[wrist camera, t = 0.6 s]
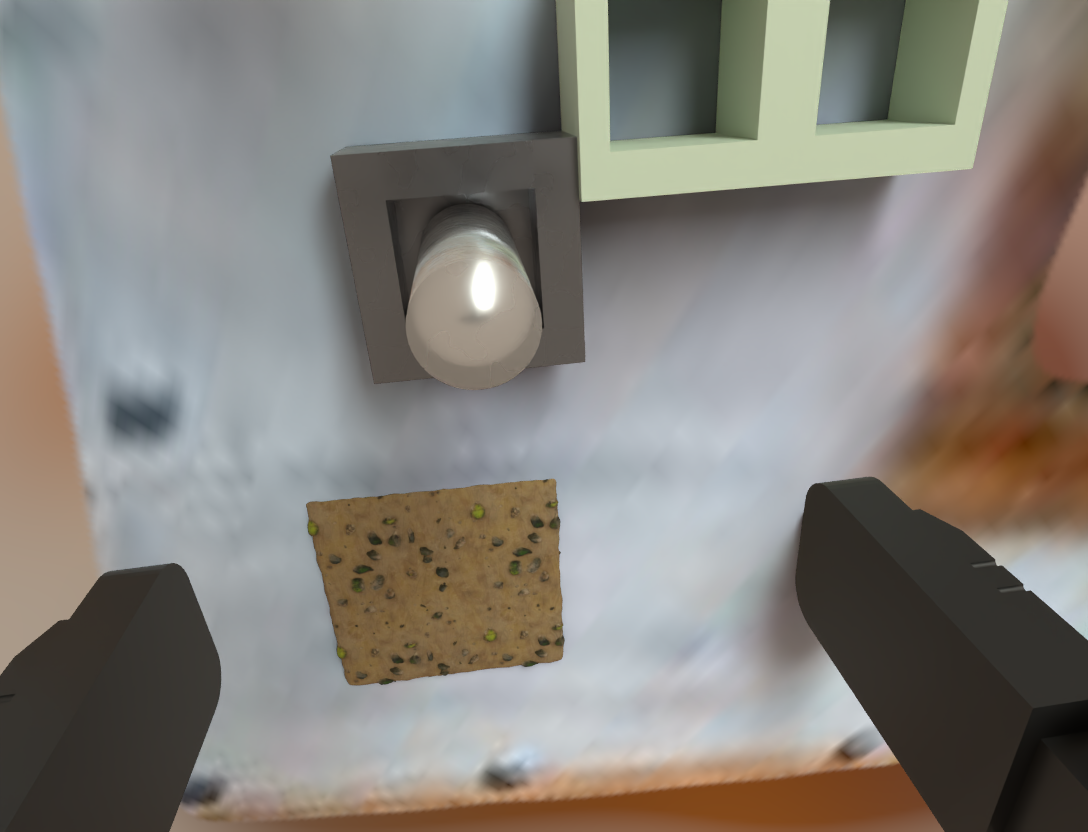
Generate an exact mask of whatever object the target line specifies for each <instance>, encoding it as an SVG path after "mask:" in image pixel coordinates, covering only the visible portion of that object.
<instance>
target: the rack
mask: <svg viewBox="0 0 1088 832" xmlns="http://www.w3.org/2000/svg"><path fill="white" fill-rule="evenodd" d="M829 5H830V0H722V13H721V33H720V53H719V73H718V94H717V114H716V133H706V134H693V135H680V136H667V137H655V138H642V139H629V140H616V141H610V107H609V45H608V0H556V20H557V42H558V63H559V85H560V107H561V128H562V131H564V132H567V133H569V134H571V135H574V136H576V137H577V151H578V178H579V200H580V201H581V202H587V201H599V200H611V199H623V198H634V197H646V196H658V195H670V194H681V193H693V192H705V191H717V190H729V189H740V188H752V187H764V186H776V185H787V184H799V183H811V182H823V181H834V180H846V179H858V178H870V177H882V176H893V175H905V174H917V173H929V172H940V171H952V170H964V169H972V168H973V164H974V159H975V154H976V150H977V145H978V140H979V136H980V131H981V126H982V122H983V117H984V112H985V108H986V103H987V98H988V94H989V89H990V84H991V80H992V75H993V70H994V66H995V61H996V56H997V51H998V47H999V42H1000V37H1001V33H1002V28H1003V23H1004V19H1005V14H1006V9H1007V5H1008V0H906V2H905V8H904V15H903V21H902V28H901V34H900V41H899V47H898V54H897V60H896V66H895V73H894V79H893V86H892V92H891V99H890V105H889V112H888V118H887V119H886V120H873V121H860V122H847V123H835V124H822V125H816V122H817V113H818V104H819V95H820V86H821V77H822V68H823V59H824V50H825V41H826V32H827V23H828V14H829Z"/></svg>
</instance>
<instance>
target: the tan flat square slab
mask: <svg viewBox="0 0 1088 832" xmlns="http://www.w3.org/2000/svg"><path fill="white" fill-rule="evenodd" d="M556 497H557V494H556V480H555V479H549V480H548V479H546V480H533V481H520V482H511V483H503V484H494V485H476V486H471V487H466V488H456V489H442V490H437V491H425V492H412V493H406V494H390V495H386V496H379V497H365V498H352V499H341V500H333V501H326V502H317V501H316V502H309V503H307V504H306V507H307V511H308V516H309V522H308V532H309V534H310V535H311V536H313V543H314V548H315V550H316V557H317V563H318V565H319V568H320V570H321V572H322V577H323V582H324V588H325V594H326V596H327V599H328V602H329V606H330V615H331V618H332V624H333V626H334V632H335V635H336V638H337V643H338V646H337V655H338V657H339V658H341V659H342V665H343V667H344V674H345V678H346V679H347V681H348V683H349V684H350V685H366V684H372V683H379V684H381V685H383V684H389V683H391V682H393V681H395V682H396V681H398V680H410V679H414V678H420V677H426V676H428V677H431V676H436V675H438V676H441V675H445V676H446V675H447V674H454V673H460V672H470V671H476V670H482V669H489V668H501V667H511V666H516V665H522V666H524V667H529V666H533V665H535V664H538V663H550V662H554V661H558V660H561V659H562V657H563V645H564V637H563V630H562V626H563V623H562V616H561V613H562V595H561V587H560V570H559V554H560V551H559V549H558V545H559V529H560V519H559V517H558V510H557V506H558V501H557V498H556Z"/></svg>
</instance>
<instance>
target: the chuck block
mask: <svg viewBox="0 0 1088 832" xmlns="http://www.w3.org/2000/svg"><path fill="white" fill-rule="evenodd" d="M330 157H331V162H332V167H333V172H334V178H335V183H336V188H337V193H338V198H339V203H340V209H341V214H342V219H343V224H344V229H345V235H346V240H347V245H348V250H349V255H350V261H351V266H352V271H353V276H354V281H355V286H356V292H357V297H358V302H359V307H360V312H361V318H362V323H363V328H364V333H365V338H366V344H367V349H368V354H369V359H370V364H371V369H372V375H373V380H374V384H379V383H388V382H398V381H408V380H417V379H427V378H434V377H433V376H431V375H430V374H429V373H428V372H426V370H425V369H424V368H423V367H422V366H421V365H420V364H419V362H418V361H417V360H416V358H415V357H414V355H413V353H412V351H411V349H410V346H409V343H408V339H407V335H406V315H407V310H408V305H409V300H410V295H411V290H412V285H413V280H414V275H415V270H416V265H417V260H418V255H419V250H420V245H421V240H422V236H423V233H424V231H425V229H426V227H427V225H428V224H429V222H430V221H431V220H432V219H433V218H434V217H435V216H436V215H437V214H438V213H439V212H441V211H443V210H444V209H446V208H448V207H451V206H454V205H459V204H474V205H478V206H482V207H484V208H487V209H489V210H490V211H492V212H494V213H495V214H496V215H498V216H499V217H500V218H501V219H502V220H503V222H504V223H505V224H506V226H507V227H508V229H509V231H510V233H511V235H512V238H513V241H514V243H515V246H516V248H517V251H518V253H519V256H520V258H521V261H522V264H523V266H524V269H525V271H526V274H527V276H528V279H529V281H530V284H531V286H532V289H533V292H534V294H535V297H536V299H537V302H538V304H539V308H540V312H541V318H542V333H541V339H540V343H539V346H538V348H537V351H536V353H535V355H534V357H533V358H532V360H531V361H530V363H529V364H528V365H527V366H526V368H532V367H541V366H551V365H560V364H570V363H580V362H585V341H584V313H583V286H582V259H581V232H580V205H579V178H578V151H577V137H576V136H574V135H571V134H569V133H567V132H564V131H562V130H560V131H547V132H534V133H521V134H508V135H495V136H481V137H468V138H455V139H442V140H429V141H416V142H402V143H389V144H376V145H363V146H350V147H345V148H343V149H341V150H339V151H338V152H336V153H334V154H333V155H331V156H330Z"/></svg>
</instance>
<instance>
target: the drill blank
mask: <svg viewBox="0 0 1088 832" xmlns="http://www.w3.org/2000/svg"><path fill="white" fill-rule="evenodd" d="M541 333H542V318H541V312H540V308H539V304H538V302H537V299H536V297H535V294H534V292H533V289H532V286H531V284H530V281H529V279H528V276H527V274H526V271H525V269H524V266H523V264H522V261H521V258H520V256H519V253H518V251H517V248H516V246H515V243H514V241H513V238H512V235H511V233H510V231H509V229H508V227H507V226H506V224H505V223H504V222H503V220H502V219H501V218H500V217H499V216H498V215H496V214H495V213H494V212H492V211H490V210H489V209H487V208H484V207H482V206H478V205H474V204H459V205H454V206H451V207H448V208H446V209H444V210H443V211H441V212H439V213H438V214H437V215H436V216H435V217H434V218H433V219H432V220H431V221H430V222H429V224H428V225H427V227H426V229H425V231H424V233H423V236H422V240H421V245H420V250H419V255H418V260H417V265H416V270H415V275H414V280H413V285H412V290H411V295H410V300H409V305H408V310H407V315H406V335H407V339H408V343H409V346H410V349H411V351H412V353H413V355H414V357H415V358H416V360H417V361H418V362H419V364H420V365H421V366H422V367H423V368H424V369H425V370H426V372H428V373H429V374H430V375H431V376H433V377H434V378H436V379H437V380H439V381H441V382H443V383H445V384H447V385H450V386H453V387H456V388H461V389H468V390H482V389H488V388H492V387H496V386H499V385H501V384H503V383H506V382H508V381H509V380H511V379H513V378H514V377H515V376H517V375H518V374H519V373H521V372H522V371H523V370H524V369H525V368H526V366H527V365H528V364H529V363H530V361H531V360H532V358H533V357H534V355H535V353H536V351H537V348H538V346H539V343H540V339H541Z"/></svg>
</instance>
